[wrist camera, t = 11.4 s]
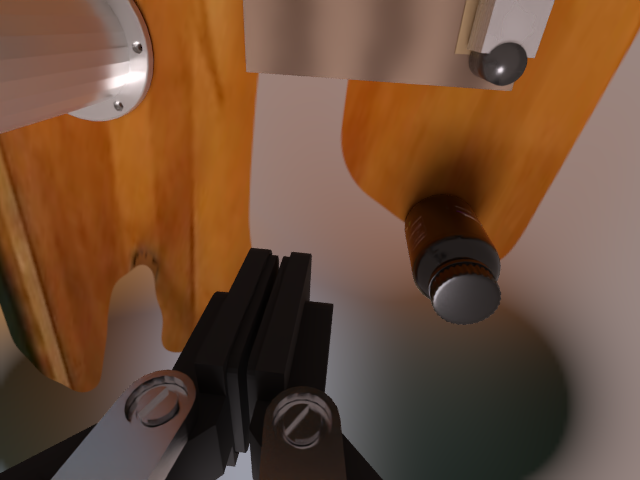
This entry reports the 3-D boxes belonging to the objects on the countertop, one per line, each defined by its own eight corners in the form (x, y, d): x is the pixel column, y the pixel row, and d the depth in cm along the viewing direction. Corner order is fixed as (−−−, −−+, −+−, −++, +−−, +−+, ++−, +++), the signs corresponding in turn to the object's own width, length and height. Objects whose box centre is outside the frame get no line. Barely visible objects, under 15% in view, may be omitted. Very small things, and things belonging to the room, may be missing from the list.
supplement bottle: (483, 196, 34) (535, 270, 24) (462, 256, 38) (498, 342, 28) (411, 187, 35) (432, 256, 24) (396, 247, 38) (409, 329, 28)
